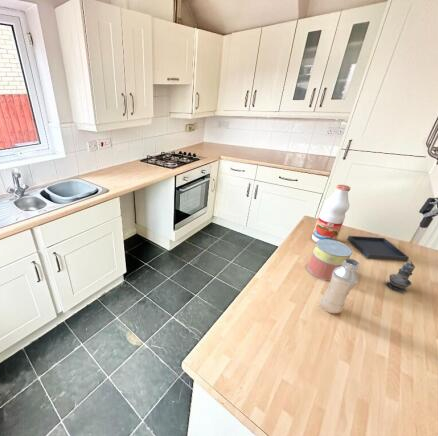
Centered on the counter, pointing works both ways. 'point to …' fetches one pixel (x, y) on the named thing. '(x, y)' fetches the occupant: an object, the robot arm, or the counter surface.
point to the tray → (377, 248)
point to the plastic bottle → (340, 286)
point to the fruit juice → (332, 215)
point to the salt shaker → (401, 278)
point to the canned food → (328, 258)
